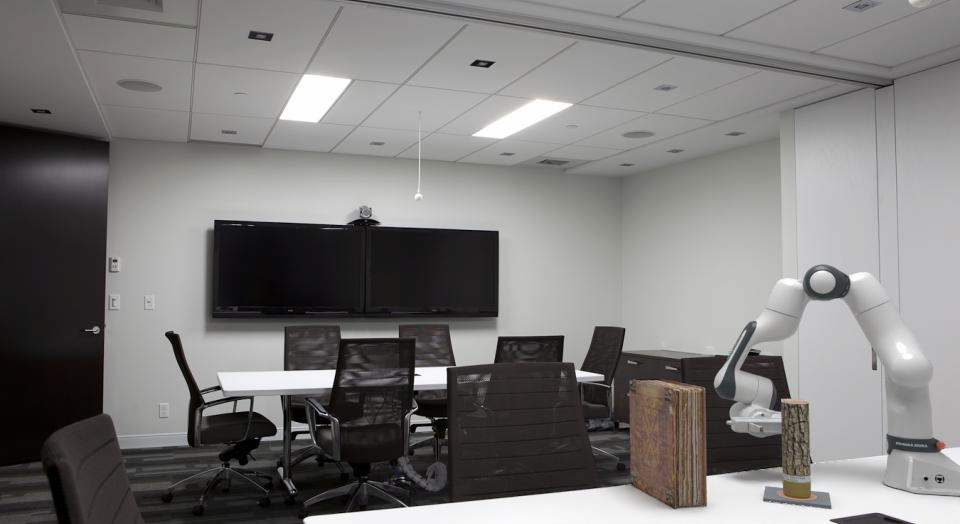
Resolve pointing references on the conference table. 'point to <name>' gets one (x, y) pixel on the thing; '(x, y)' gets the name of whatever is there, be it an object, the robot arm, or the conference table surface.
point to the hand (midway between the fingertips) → (777, 429)
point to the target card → (814, 500)
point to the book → (668, 441)
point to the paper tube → (796, 448)
